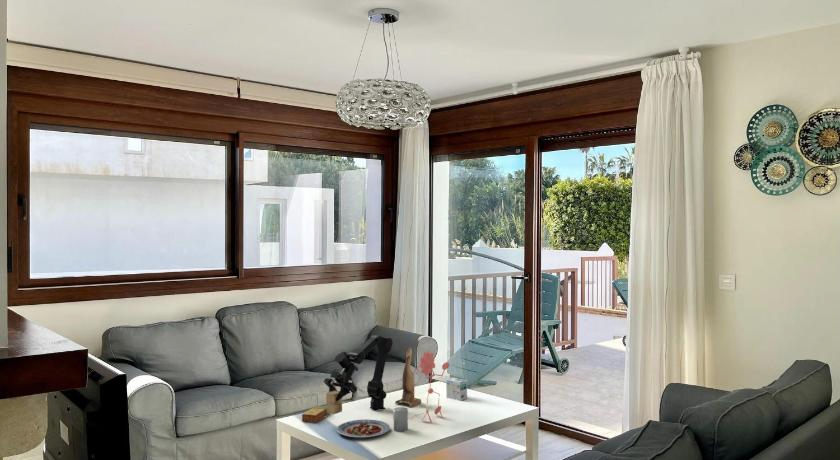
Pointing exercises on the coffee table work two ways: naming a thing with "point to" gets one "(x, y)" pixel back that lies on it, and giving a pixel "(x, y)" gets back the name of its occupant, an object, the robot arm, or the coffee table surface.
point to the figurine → (427, 366)
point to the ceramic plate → (363, 428)
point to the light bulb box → (456, 389)
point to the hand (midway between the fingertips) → (332, 399)
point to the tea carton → (333, 402)
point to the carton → (315, 414)
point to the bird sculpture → (408, 383)
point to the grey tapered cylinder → (400, 419)
